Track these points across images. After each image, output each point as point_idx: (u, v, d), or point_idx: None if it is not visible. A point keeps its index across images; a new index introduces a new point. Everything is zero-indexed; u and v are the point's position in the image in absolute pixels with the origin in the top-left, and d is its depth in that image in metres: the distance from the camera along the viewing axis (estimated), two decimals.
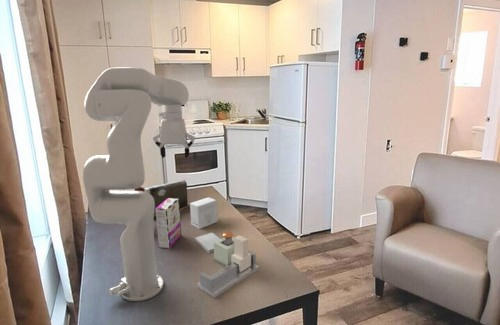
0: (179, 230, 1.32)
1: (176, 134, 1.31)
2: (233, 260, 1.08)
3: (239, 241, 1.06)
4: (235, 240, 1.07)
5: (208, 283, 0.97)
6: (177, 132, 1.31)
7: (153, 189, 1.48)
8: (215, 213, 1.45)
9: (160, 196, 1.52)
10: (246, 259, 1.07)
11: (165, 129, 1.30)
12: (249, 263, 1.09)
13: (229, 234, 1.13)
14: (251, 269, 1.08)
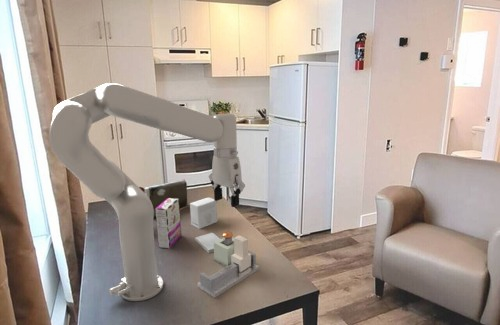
0: (179, 230, 1.32)
1: None
2: (233, 260, 1.08)
3: (239, 241, 1.06)
4: (235, 240, 1.07)
5: (208, 283, 0.97)
6: None
7: (152, 189, 1.49)
8: (215, 213, 1.45)
9: (160, 195, 1.52)
10: (246, 259, 1.07)
11: None
12: (249, 263, 1.09)
13: (229, 234, 1.13)
14: (251, 269, 1.08)
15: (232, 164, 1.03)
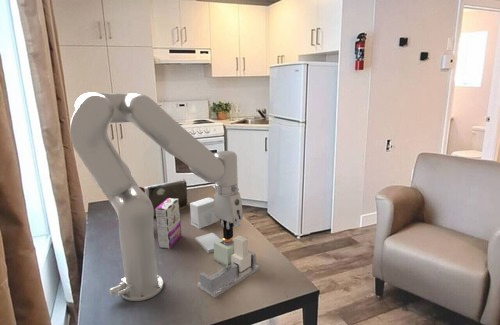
0: (179, 230, 1.32)
1: None
2: (233, 260, 1.08)
3: (239, 241, 1.06)
4: (235, 240, 1.07)
5: (208, 283, 0.97)
6: None
7: (152, 188, 1.49)
8: None
9: (159, 195, 1.53)
10: (246, 259, 1.07)
11: None
12: (249, 263, 1.09)
13: None
14: (251, 269, 1.08)
15: (233, 200, 1.06)
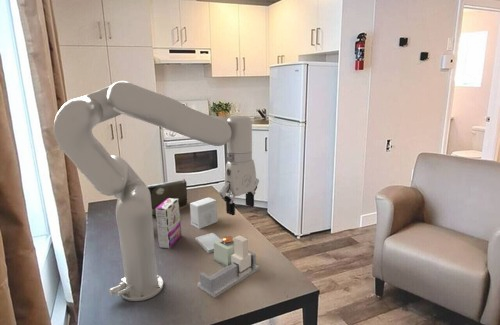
0: (179, 230, 1.32)
1: (250, 179, 1.01)
2: (233, 260, 1.08)
3: (239, 241, 1.06)
4: (235, 240, 1.07)
5: (208, 283, 0.97)
6: (251, 176, 1.01)
7: (151, 188, 1.50)
8: (215, 213, 1.45)
9: (159, 194, 1.54)
10: (246, 259, 1.07)
11: (240, 176, 0.98)
12: (249, 263, 1.09)
13: (229, 239, 1.13)
14: (251, 269, 1.08)
15: (226, 168, 0.98)
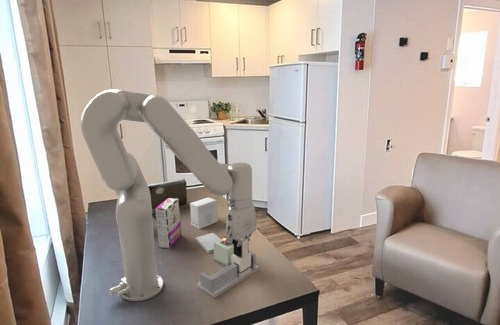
0: (179, 230, 1.32)
1: (250, 222, 1.05)
2: (233, 260, 1.08)
3: None
4: None
5: (208, 283, 0.97)
6: (251, 220, 1.05)
7: (151, 187, 1.51)
8: (215, 213, 1.45)
9: (158, 194, 1.54)
10: (246, 259, 1.07)
11: (241, 221, 1.01)
12: (249, 263, 1.09)
13: None
14: (251, 269, 1.08)
15: (227, 214, 1.02)
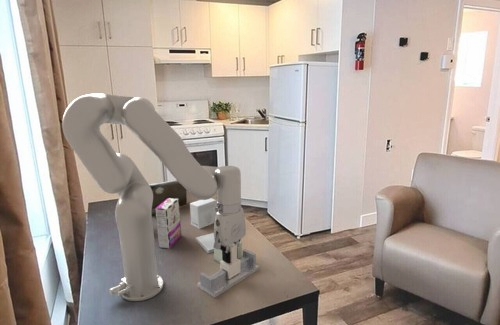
0: (179, 230, 1.32)
1: (239, 228, 1.01)
2: (222, 266, 1.04)
3: None
4: (224, 246, 1.03)
5: (208, 283, 0.97)
6: (240, 225, 1.01)
7: None
8: (215, 213, 1.45)
9: (158, 193, 1.55)
10: (235, 266, 1.04)
11: (229, 226, 0.98)
12: (238, 269, 1.05)
13: None
14: (251, 269, 1.08)
15: (215, 219, 0.98)
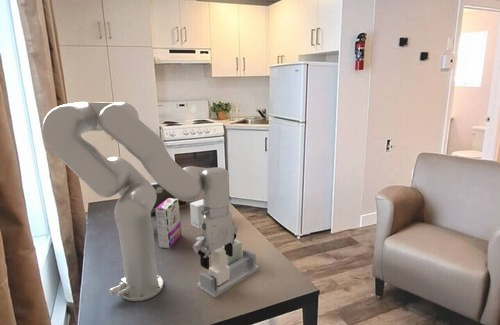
0: (179, 230, 1.32)
1: (227, 232, 0.98)
2: (210, 273, 1.01)
3: (216, 253, 0.99)
4: (212, 252, 1.00)
5: (208, 283, 0.97)
6: (228, 229, 0.98)
7: None
8: None
9: (158, 193, 1.55)
10: (223, 272, 1.00)
11: (216, 230, 0.94)
12: (227, 276, 1.02)
13: None
14: (251, 269, 1.08)
15: (202, 222, 0.95)
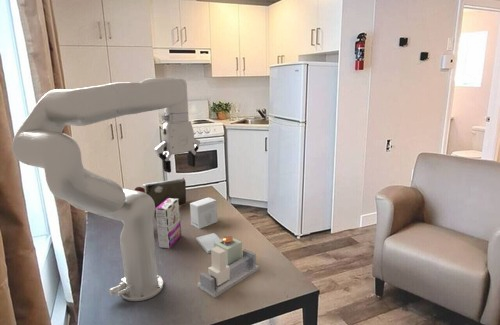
0: (179, 230, 1.32)
1: (187, 139, 1.07)
2: (210, 273, 1.01)
3: (216, 253, 0.99)
4: (212, 252, 1.00)
5: (208, 283, 0.97)
6: (188, 137, 1.07)
7: (149, 186, 1.53)
8: (215, 213, 1.45)
9: (157, 192, 1.56)
10: (223, 272, 1.00)
11: (176, 135, 1.03)
12: (227, 276, 1.02)
13: (229, 239, 1.13)
14: (251, 269, 1.08)
15: (163, 128, 1.04)
